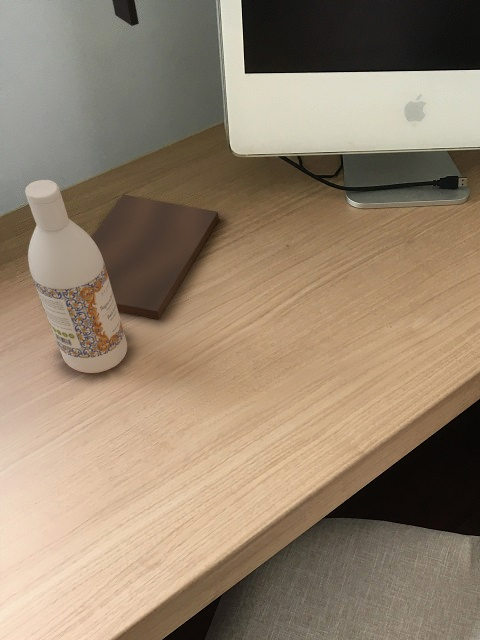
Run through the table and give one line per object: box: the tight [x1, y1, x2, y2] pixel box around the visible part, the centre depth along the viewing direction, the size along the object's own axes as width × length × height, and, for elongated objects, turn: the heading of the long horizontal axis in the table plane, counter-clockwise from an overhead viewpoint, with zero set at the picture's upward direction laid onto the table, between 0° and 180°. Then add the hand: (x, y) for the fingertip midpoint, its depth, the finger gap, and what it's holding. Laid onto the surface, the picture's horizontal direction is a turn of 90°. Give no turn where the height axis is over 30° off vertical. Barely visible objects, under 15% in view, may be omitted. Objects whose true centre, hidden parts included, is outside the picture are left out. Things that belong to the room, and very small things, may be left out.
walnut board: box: [90, 194, 220, 320], centre depth 96 cm, size 13×20×1 cm, turn 167°
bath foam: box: [24, 179, 128, 374], centre depth 78 cm, size 7×7×20 cm
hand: (60, 41), depth 69 cm, fingers open, 13 cm apart
